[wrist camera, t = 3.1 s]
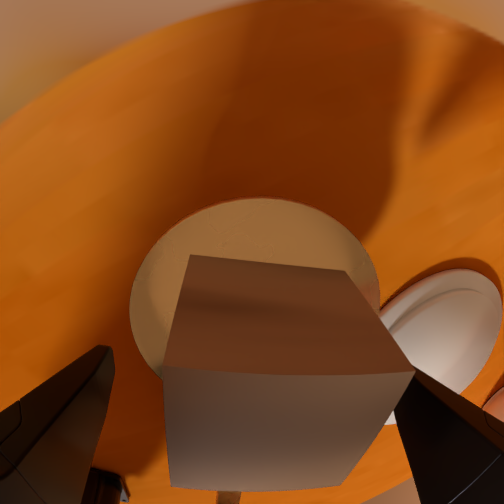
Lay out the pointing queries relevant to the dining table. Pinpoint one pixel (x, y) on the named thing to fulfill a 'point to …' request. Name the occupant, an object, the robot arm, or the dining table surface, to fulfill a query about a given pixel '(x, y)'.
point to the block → (274, 377)
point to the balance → (242, 248)
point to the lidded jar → (496, 405)
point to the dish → (446, 325)
